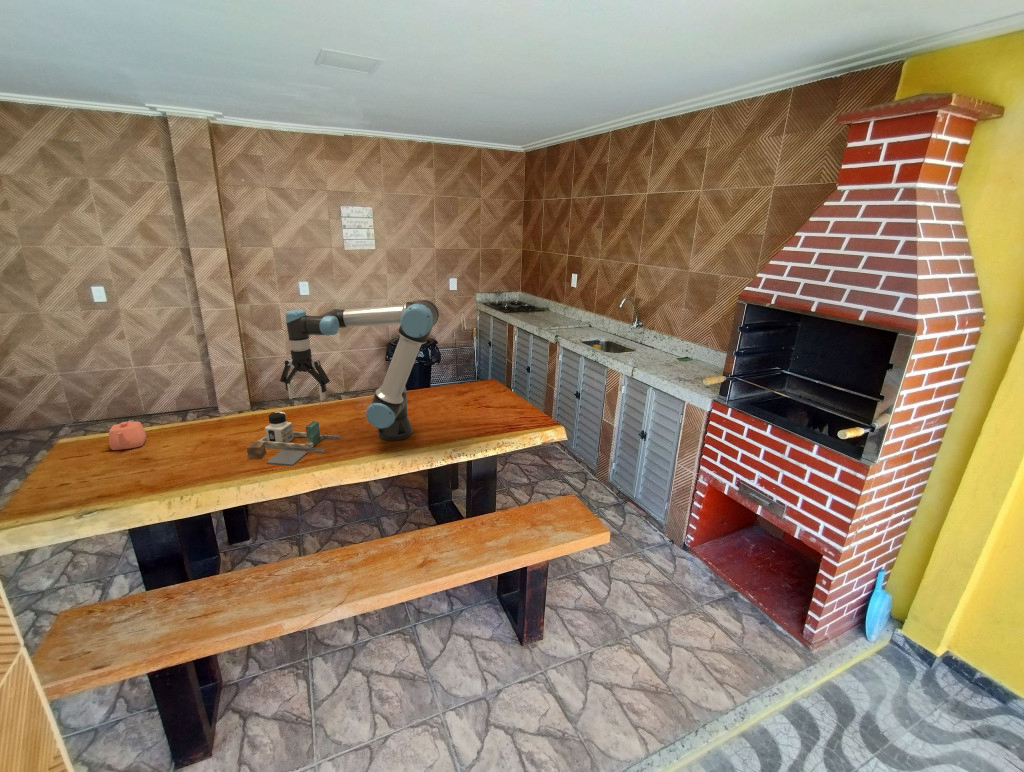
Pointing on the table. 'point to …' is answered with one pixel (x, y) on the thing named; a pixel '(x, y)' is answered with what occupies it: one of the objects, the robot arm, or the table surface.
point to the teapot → (126, 435)
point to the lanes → (301, 447)
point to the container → (279, 428)
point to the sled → (311, 435)
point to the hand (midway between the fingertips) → (307, 398)
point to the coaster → (286, 457)
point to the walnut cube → (256, 450)
